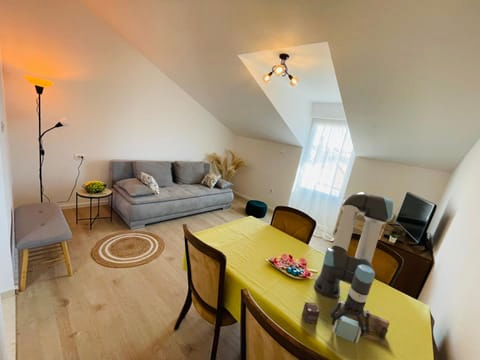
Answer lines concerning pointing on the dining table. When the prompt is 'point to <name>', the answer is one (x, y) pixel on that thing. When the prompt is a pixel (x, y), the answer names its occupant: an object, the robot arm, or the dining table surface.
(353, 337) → the pale grey block
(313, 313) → the box
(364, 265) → the robot arm
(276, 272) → the dining table surface
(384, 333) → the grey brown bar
